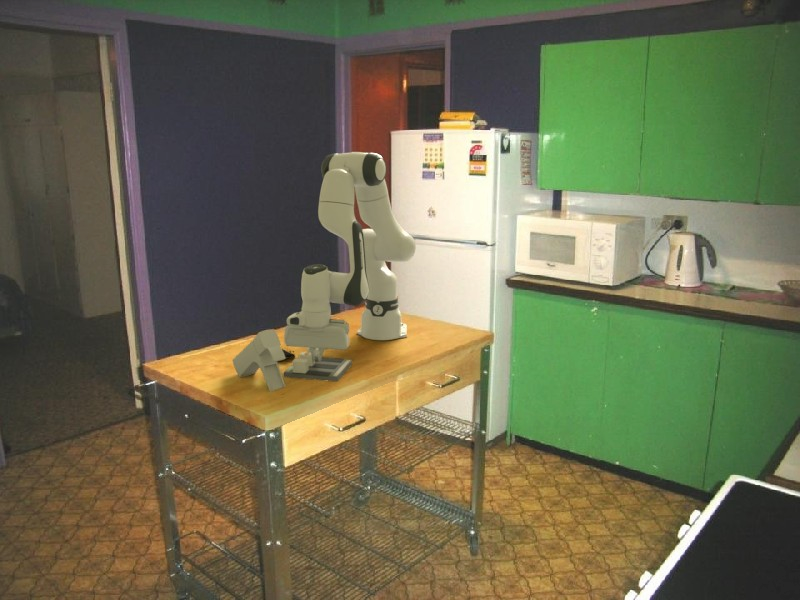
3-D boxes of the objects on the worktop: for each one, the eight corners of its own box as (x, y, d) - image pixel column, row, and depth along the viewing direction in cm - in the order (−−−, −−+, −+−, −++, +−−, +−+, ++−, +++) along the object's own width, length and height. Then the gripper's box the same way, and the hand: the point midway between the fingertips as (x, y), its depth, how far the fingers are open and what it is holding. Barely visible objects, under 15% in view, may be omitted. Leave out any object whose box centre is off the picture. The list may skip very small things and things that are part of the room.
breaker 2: (296, 369, 204) (296, 358, 203) (308, 370, 203) (308, 359, 202) (292, 372, 201) (292, 361, 200) (305, 373, 200) (305, 362, 199)
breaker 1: (303, 362, 210) (302, 350, 209) (315, 363, 209) (314, 351, 208) (299, 365, 207) (299, 353, 206) (311, 366, 206) (311, 354, 206)
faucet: (249, 355, 207) (275, 326, 193) (268, 402, 203) (297, 376, 189) (231, 359, 203) (257, 330, 189) (251, 407, 198) (278, 381, 185)
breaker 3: (310, 356, 216) (310, 345, 215) (322, 357, 215) (322, 346, 215) (307, 358, 213) (307, 348, 213) (319, 359, 213) (319, 349, 212)
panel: (302, 360, 218) (302, 355, 217) (352, 364, 214) (352, 359, 214) (283, 377, 202) (283, 372, 201) (337, 381, 198) (336, 376, 198)
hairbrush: (275, 334, 237) (299, 350, 216) (276, 344, 238) (299, 361, 216) (252, 337, 234) (274, 353, 212) (253, 347, 234) (275, 364, 213)
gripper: (351, 317, 205) (352, 360, 208) (288, 313, 209) (290, 355, 212) (346, 322, 199) (346, 366, 202) (281, 318, 203) (283, 361, 206)
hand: (317, 361), depth 207 cm, fingers closed
